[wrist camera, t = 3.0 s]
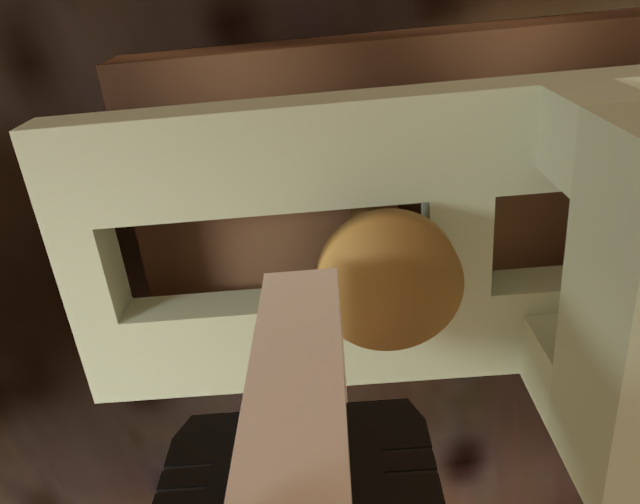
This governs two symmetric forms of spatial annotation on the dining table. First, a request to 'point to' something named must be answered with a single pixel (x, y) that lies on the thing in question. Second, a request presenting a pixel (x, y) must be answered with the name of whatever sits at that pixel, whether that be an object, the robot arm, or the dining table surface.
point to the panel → (360, 192)
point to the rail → (351, 71)
